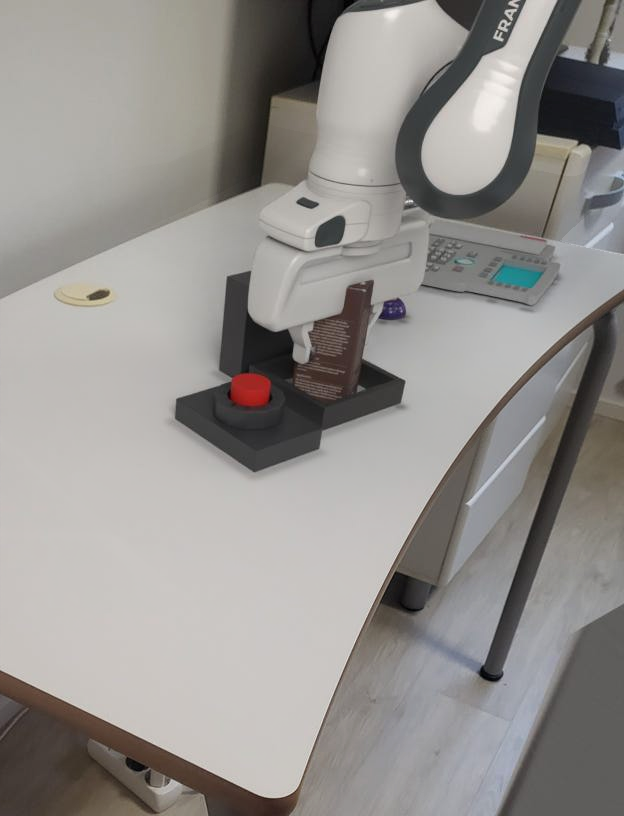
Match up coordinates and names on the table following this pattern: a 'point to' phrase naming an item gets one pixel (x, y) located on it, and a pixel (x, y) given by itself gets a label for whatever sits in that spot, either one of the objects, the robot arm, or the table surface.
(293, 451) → the block
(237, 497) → the table surface
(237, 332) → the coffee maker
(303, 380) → the box
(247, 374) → the power button
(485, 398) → the table surface
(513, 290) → the office telephone
